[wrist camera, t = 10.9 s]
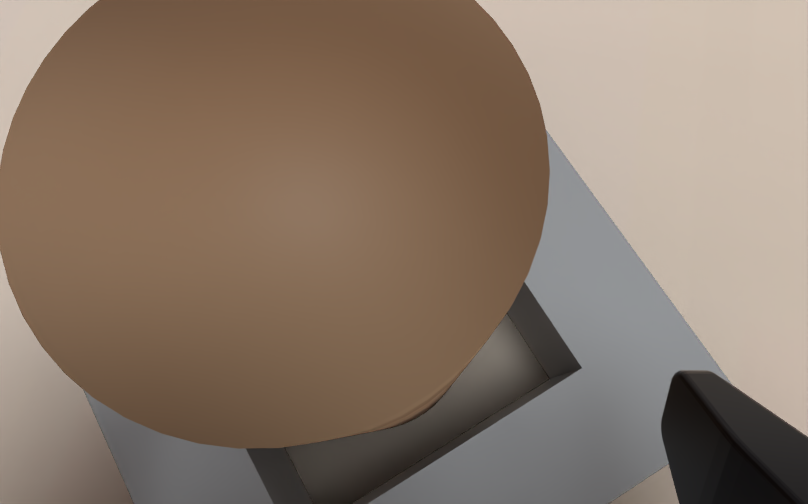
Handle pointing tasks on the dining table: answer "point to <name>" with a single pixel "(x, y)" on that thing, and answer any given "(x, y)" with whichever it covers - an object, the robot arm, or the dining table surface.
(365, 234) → the walnut peg
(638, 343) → the socket block
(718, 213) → the dining table surface
